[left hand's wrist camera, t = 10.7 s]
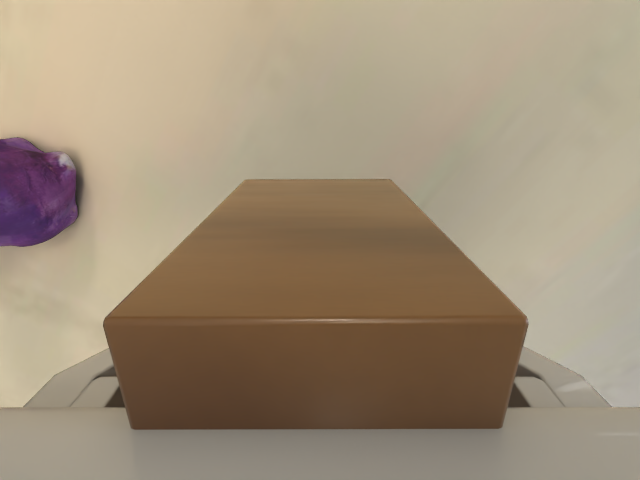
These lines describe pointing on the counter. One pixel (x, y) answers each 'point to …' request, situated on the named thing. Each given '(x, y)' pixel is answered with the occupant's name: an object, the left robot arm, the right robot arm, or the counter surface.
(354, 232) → the bar
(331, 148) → the counter surface
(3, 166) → the figurine
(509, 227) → the counter surface
